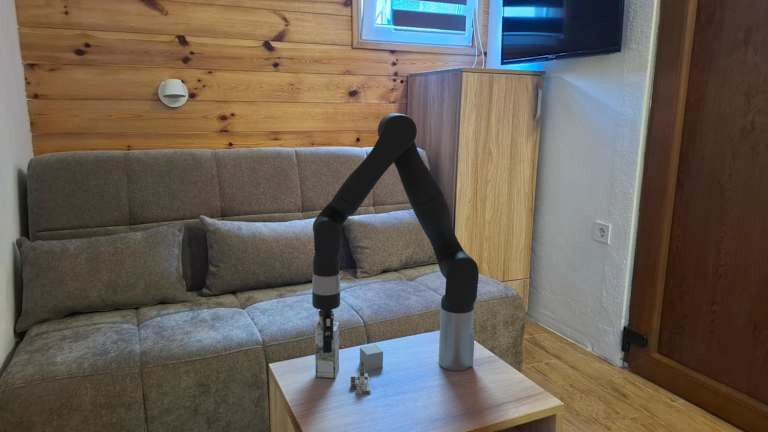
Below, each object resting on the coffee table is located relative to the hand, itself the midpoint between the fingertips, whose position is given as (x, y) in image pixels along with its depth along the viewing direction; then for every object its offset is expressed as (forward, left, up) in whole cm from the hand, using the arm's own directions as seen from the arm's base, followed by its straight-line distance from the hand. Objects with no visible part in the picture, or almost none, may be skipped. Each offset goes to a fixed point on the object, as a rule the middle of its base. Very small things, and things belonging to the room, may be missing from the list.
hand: (326, 345), depth 147 cm
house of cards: (-7, +8, -9) cm, 14 cm away
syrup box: (0, 0, -9) cm, 9 cm away
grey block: (-13, -3, -9) cm, 16 cm away
